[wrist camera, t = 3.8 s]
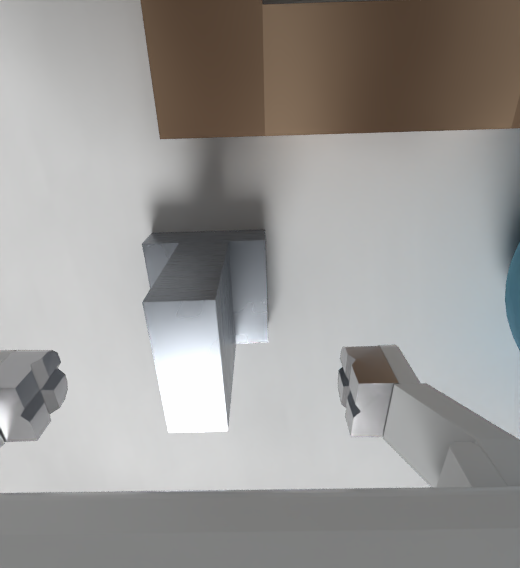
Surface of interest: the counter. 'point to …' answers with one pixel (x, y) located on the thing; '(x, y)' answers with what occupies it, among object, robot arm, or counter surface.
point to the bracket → (203, 318)
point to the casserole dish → (514, 296)
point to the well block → (332, 66)
